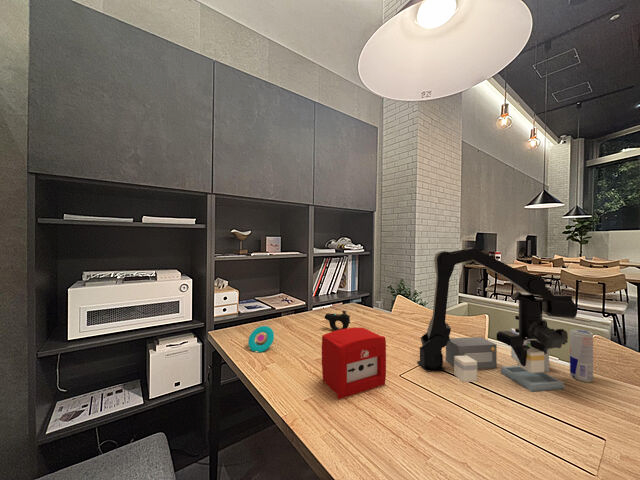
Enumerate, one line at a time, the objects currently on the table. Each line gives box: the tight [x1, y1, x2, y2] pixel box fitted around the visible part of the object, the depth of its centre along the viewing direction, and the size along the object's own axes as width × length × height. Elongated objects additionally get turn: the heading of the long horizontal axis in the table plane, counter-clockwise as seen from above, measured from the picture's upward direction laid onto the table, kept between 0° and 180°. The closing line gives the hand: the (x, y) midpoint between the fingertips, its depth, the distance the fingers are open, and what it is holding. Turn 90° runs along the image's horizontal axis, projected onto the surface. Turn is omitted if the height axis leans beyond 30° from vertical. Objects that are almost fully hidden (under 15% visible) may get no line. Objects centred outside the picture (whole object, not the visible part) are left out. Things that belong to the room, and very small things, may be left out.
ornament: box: [248, 325, 275, 353], centre depth 103 cm, size 11×4×10 cm
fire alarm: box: [321, 326, 387, 400], centre depth 77 cm, size 16×11×15 cm
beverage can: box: [569, 329, 594, 383], centre depth 81 cm, size 5×5×15 cm
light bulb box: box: [510, 328, 550, 372], centre depth 91 cm, size 11×7×11 cm, turn 168°
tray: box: [500, 365, 565, 393], centre depth 79 cm, size 11×11×2 cm
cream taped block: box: [517, 346, 545, 373], centre depth 79 cm, size 5×5×6 cm
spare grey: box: [453, 355, 478, 383], centre depth 81 cm, size 5×5×6 cm
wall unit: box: [445, 336, 498, 370], centre depth 90 cm, size 14×8×8 cm, turn 97°
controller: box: [324, 310, 351, 331], centre depth 122 cm, size 4×12×10 cm, turn 70°
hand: (530, 365), depth 79 cm, fingers closed on cream taped block, 4 cm apart
